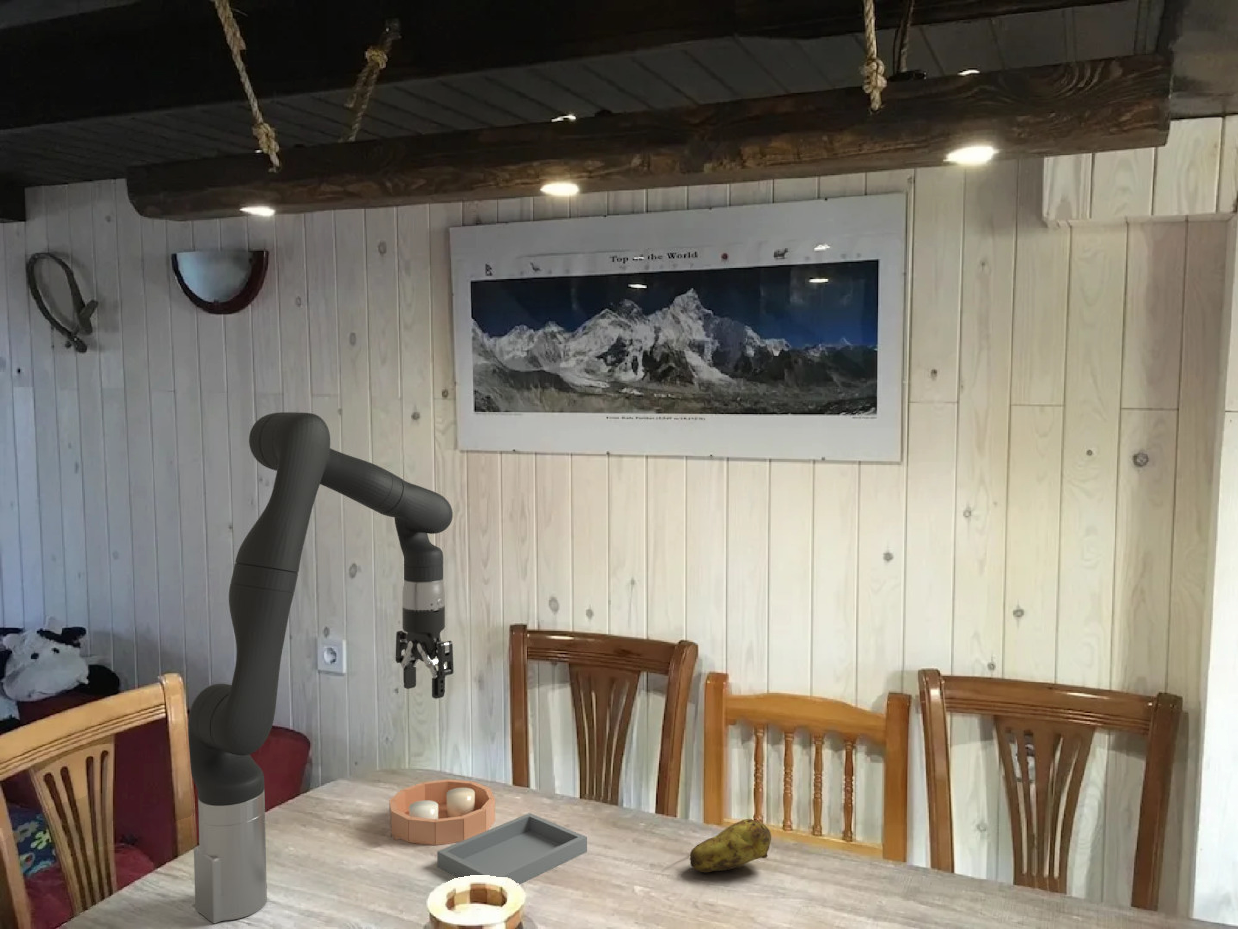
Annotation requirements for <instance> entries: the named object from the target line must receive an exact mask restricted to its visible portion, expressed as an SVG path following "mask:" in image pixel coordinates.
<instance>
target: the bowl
mask: <svg viewBox="0 0 1238 929" xmlns="http://www.w3.org/2000/svg"><path fill="white" fill-rule="evenodd" d="M454 788H470V789H473V790H474V791H475V811H473V812H471V813H468V814H466V815H463V816H459V817H451V818H448V817H447V792H448V791H449V790H451V789H454ZM423 800H430V801H434V802H436V803H437V804H438V819H427V818H417V817H411V816H409V806H410V805H411V804H412V803H414V802H417V801H423ZM388 802H389V803H388V806H389V808H388V809H389V811H388V812H389V813H388V814H389V815H388V816H389V819H388V820H389V826H390V835H391V838H392V839H393V840H394V841H397V840H400V839H401V840H403V841H404V842H407V843H412V844H418V845H419V844H420V845H427V846H428V845H431V846H439V845H447V844H449V845H450V844H456V843H459V842H461V841H463V840H466V839H468V838H471V837H473V836H475V835H478V834H480V833H483V832H485V831H488V830H490V829H491V827H492V825H493V824H494V823H495V821H496V798H495V796H494V793H493V792H492V789H491V788H490V787H488V786H486V785H483V784H481V783H478V782H476V781H471V780H462V779H461V780H459V779H450V778H449V779H439V780H431V781H423V782H420V783H417V784H414V785H411V786H408V787H406V788H402V789H400V790H399V791H398V792H397V793H396V794H394V796H392V797H391V798H390V799H389V800H388Z"/></svg>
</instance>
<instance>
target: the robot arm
mask: <svg viewBox="0 0 1238 929" xmlns="http://www.w3.org/2000/svg"><path fill="white" fill-rule="evenodd" d="M324 420H325V419H323V418H322V417H321V416H319V415H318V414H316V413H311V412H297V411H296V412H292V411H290V412H288V411H286V412H284V411H281V412H273V413H269V414H266V415H264V416H262V417H260V418H259V419H258V420H256V421H255V423H254V424H253V426H251V427H252V428H251V429H250V432H249V437H248V444H249V445H248V446H249V448H250V452H251V454H252V455H253V458H254V459H255V460H256V461H257V462H258V463H259V464H260V465H261V466H263V467H264V468H267V469H269V470H273V471H276V475H275V479H274V484H273V487H272V488H273V489H272V491H271V495H270V496H269V497H270V498H269V500H268V502H267V504H266V506H265V508H264V510H263V511H262V513H261V515H260V516H259V518H258V519H257V520H256V521H255V523H254V525H253V526H252V527H251V529H250V530H249V532H248V533H247V535H246V536H245V538H244V540H243V541H242V543H241V545H240V546H239V549H238V551H237V555H236V558H235V563H234V564H233V565H234V566H233V571H232V574H231V575H232V576H231V580H230V584H229V592H228V605H229V606H228V607H229V612H230V619H231V623H232V628H233V633H234V637H235V638H234V639H235V645H236V656H235V657H236V658H235V667H234V670H233V675H232V682H231V684H229V683H215V684H211V685H209V686H207V687H205V688H204V689H203V690H201V692H200V693H198V695H197V696H196V697H195V698H194V699H193V700H194V701H192V704H191V707H190V711H189V714H188V722H187V734H188V737H187V738H188V751H189V760H190V761H189V762H190V771H191V772H190V773H191V777H192V779H193V780H192V781H193V782H194V784H195V786H196V790H197V800H198V801H197V802H198V803H197V805H198V836H199V838H198V842H199V845H197V846H195V847H194V848H193V868H194V869H193V870H194V872H193V873H194V900H195V902H194V903H195V911H197V912H199V914H201V915H202V916H203V917H205V918H206V919H207V920H209V921H210V922H211V923H212V924H217V923H220V922H222V921H232V920H238V919H243V918H245V917H248V916H251V915H253V914H255V913H257V912H258V911H259V910H261V909H263V907H264V906H266V903H267V901H268V890H267V889H268V884H267V848H266V846H267V844H266V839H267V838H266V807H265V806H266V804H265V803H266V802H265V800H266V799H265V796H266V795H265V776H264V775H265V774H264V772H263V770H262V768H261V767H260V766H259V765H258V764H257V763H256V761H255V760H254V759H253V758H252V755H251V754H254V753H255V752H257V751H258V750H259V749H261V747H262V746H264V744H265V742H266V741H267V739H268V737H269V735H270V733H271V731H272V728H273V724H274V722H275V720H274V719H275V715H276V707H277V697H278V687H279V678H280V668H281V661H282V654H283V648H284V643H285V638H286V634H287V633H286V632H287V626H288V621H289V615H290V613H291V612H290V610H291V606H292V602H293V600H294V595H295V591H296V586H297V583H298V582H297V581H298V576H299V572H300V571H299V570H300V564H301V559H302V554H303V551H304V550H303V549H304V545H305V540H306V536H307V531H308V528H309V523H310V519H311V514H312V510H313V508H314V504H315V500H316V498H317V495H318V491H319V487H320V485H321V486H324V488H328V489H330V490H332V491H334V492H336V493H337V494H338V493H339V494H341V495H343V496H345V497H346V498H349V499H351V500H352V501H355V502H357V503H359V504H361V505H363V506H365V507H366V508H369V509H371V510H372V511H374V512H377V513H378V514H381V515H383V516H386V517H391V518H394V525H395V530H396V533H397V537H398V541H399V545H400V549H401V551H402V555H403V586H402V593H401V594H402V598H401V600H402V610H401V611H402V617H401V618H402V630H398V631H396V633H395V634H396V635H395V636H396V637H395V638H396V639H395V662H396V663H397V664H400V666H401V668H402V669H403V671H402V672H403V674H402V676H403V688H405V689H406V690H409V689H414V688H415V687H416V686H417V667H416V665H417V663H418V661H419V660H420V661H421V662H424V664H425V667H426V668H428V669H429V671H430V673H431V676H432V677H431V698H433V699H436V700H438V699H440V698H444V696H445V693H446V677H447V676H449V675H453V674H454V649H453V647H454V646H453V641H451V640H447V641H446V640H445V641H442V639H441V633H442V631H443V630H444V629H445V628H446V590H445V583H444V582H445V581H444V552H443V550H442V549H441V547H438V546H436V545H434V544H433V543H432V542H431V541H430V538H429V536H428V534H430V535H435V534H440V533H442V532H444V531H445V530H447V529H448V528H449V527H450V525H451V523H452V521H453V517H454V514H453V513H454V512H453V509H452V506H451V504H450V502H449V501H448V499H447V498H445V497H444V496H443V495H441V494H440V493H438V492H436V491H433V490H431V489H428V488H426V487H422V486H420V485H417V484H413V483H411V482H409V481H406V480H404V479H402V478H401V477H399V476H398V475H396V474H394V473H393V472H390V471H389V470H387V469H385V468H383V467H381V466H379V465H377V464H374V463H372V462H370V461H367V460H363V459H362V458H361V459H360V458H358V457H356V456H351V455H349V454H346V453H343V452H340V451H338V450H335V449H333V448H331V434H330V430H329V426H328V425H327V422H325V421H324ZM402 651H404V653H403V652H402ZM402 653H403V654H402ZM445 663H446V666H447V667H446V666H445ZM436 666H437V668H436Z"/></svg>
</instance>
